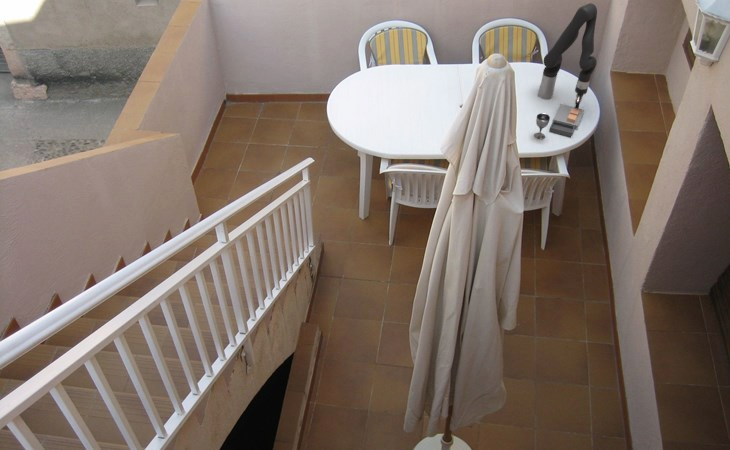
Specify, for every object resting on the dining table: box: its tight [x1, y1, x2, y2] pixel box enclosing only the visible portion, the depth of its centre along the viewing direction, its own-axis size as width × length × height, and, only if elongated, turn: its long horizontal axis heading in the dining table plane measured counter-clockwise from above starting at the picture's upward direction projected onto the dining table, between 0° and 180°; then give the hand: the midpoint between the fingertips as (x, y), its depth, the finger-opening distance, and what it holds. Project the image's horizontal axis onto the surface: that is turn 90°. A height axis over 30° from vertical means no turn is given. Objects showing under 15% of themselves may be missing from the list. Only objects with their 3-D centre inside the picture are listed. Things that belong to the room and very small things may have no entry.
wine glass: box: [533, 112, 551, 141], centre depth 432 cm, size 8×8×15 cm
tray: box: [548, 119, 575, 138], centre depth 440 cm, size 14×9×4 cm, turn 65°
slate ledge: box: [552, 103, 585, 130], centre depth 449 cm, size 16×19×3 cm
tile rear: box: [570, 108, 579, 116], centre depth 447 cm, size 5×5×2 cm
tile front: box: [567, 114, 577, 123], centre depth 443 cm, size 5×5×2 cm
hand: (576, 107), depth 452 cm, fingers closed
